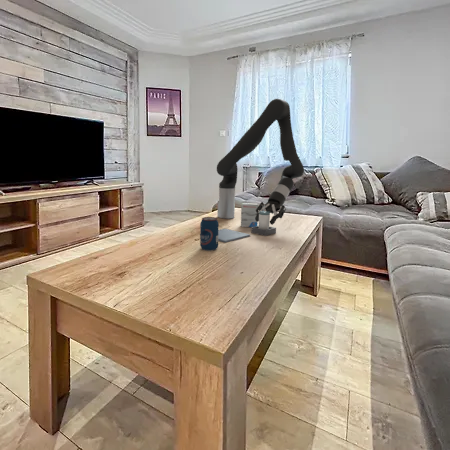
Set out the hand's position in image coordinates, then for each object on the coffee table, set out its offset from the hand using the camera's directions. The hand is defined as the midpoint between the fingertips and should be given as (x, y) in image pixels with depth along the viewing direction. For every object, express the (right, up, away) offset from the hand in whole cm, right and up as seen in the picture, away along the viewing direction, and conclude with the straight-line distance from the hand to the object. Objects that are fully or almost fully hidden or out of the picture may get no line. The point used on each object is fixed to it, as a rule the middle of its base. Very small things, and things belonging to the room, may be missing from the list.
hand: (263, 222), depth 147 cm
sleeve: (0, -5, +1) cm, 5 cm away
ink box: (-6, -2, +15) cm, 16 cm away
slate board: (-18, -6, -6) cm, 20 cm away
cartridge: (0, -5, +1) cm, 5 cm away
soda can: (-24, -11, -26) cm, 37 cm away
